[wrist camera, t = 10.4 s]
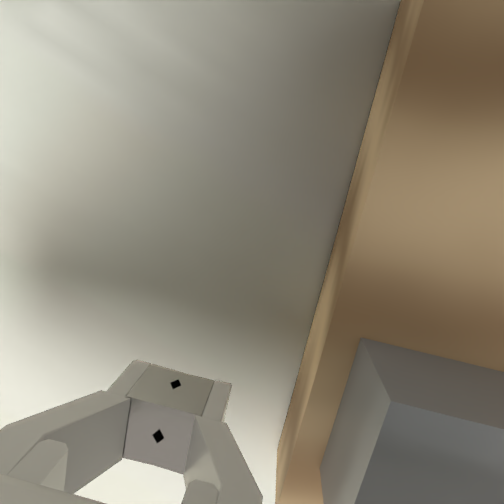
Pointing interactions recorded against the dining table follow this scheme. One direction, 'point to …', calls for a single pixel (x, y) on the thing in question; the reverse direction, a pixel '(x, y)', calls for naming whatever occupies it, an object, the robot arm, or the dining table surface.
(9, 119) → the dining table surface
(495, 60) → the board
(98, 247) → the dining table surface
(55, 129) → the dining table surface
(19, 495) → the robot arm
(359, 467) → the tile
